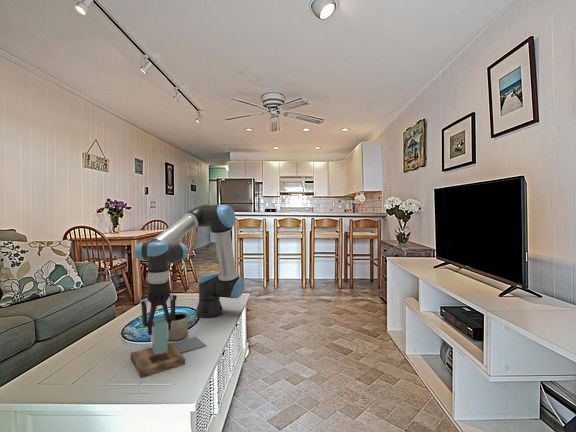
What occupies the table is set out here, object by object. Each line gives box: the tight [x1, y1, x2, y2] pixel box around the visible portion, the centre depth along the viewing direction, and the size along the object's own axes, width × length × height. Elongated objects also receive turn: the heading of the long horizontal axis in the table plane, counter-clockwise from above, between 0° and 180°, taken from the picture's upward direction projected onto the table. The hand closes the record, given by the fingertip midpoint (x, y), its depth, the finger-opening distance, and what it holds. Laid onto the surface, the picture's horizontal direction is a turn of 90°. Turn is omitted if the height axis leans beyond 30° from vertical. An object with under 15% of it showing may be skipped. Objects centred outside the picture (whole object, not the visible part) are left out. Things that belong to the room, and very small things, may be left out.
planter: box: [163, 312, 189, 342], centre depth 151 cm, size 11×11×10 cm
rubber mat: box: [170, 336, 207, 354], centre depth 141 cm, size 12×12×1 cm
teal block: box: [151, 317, 168, 355], centre depth 124 cm, size 4×4×12 cm
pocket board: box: [130, 342, 186, 379], centre depth 126 cm, size 16×18×2 cm
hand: (159, 340), depth 124 cm, fingers closed on teal block, 4 cm apart
